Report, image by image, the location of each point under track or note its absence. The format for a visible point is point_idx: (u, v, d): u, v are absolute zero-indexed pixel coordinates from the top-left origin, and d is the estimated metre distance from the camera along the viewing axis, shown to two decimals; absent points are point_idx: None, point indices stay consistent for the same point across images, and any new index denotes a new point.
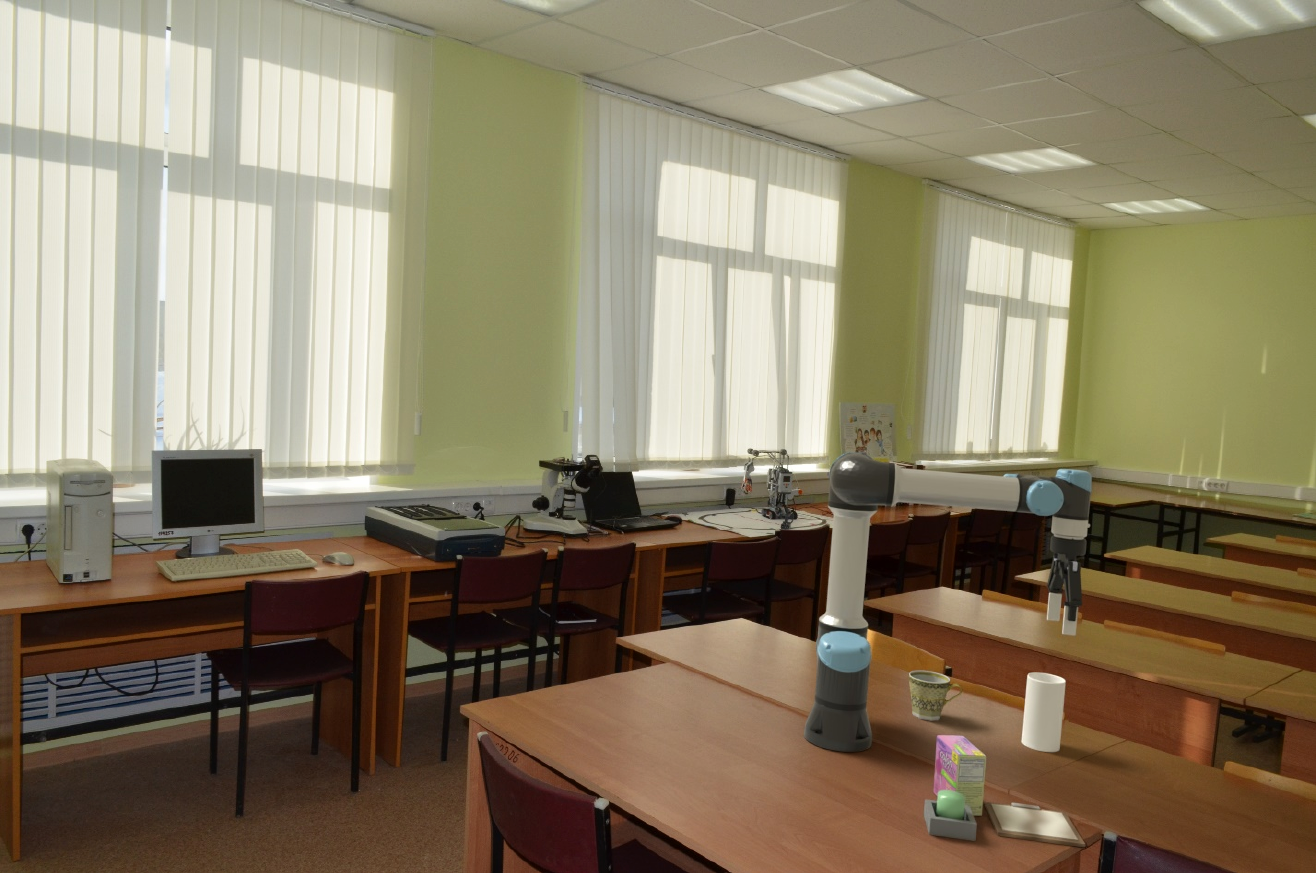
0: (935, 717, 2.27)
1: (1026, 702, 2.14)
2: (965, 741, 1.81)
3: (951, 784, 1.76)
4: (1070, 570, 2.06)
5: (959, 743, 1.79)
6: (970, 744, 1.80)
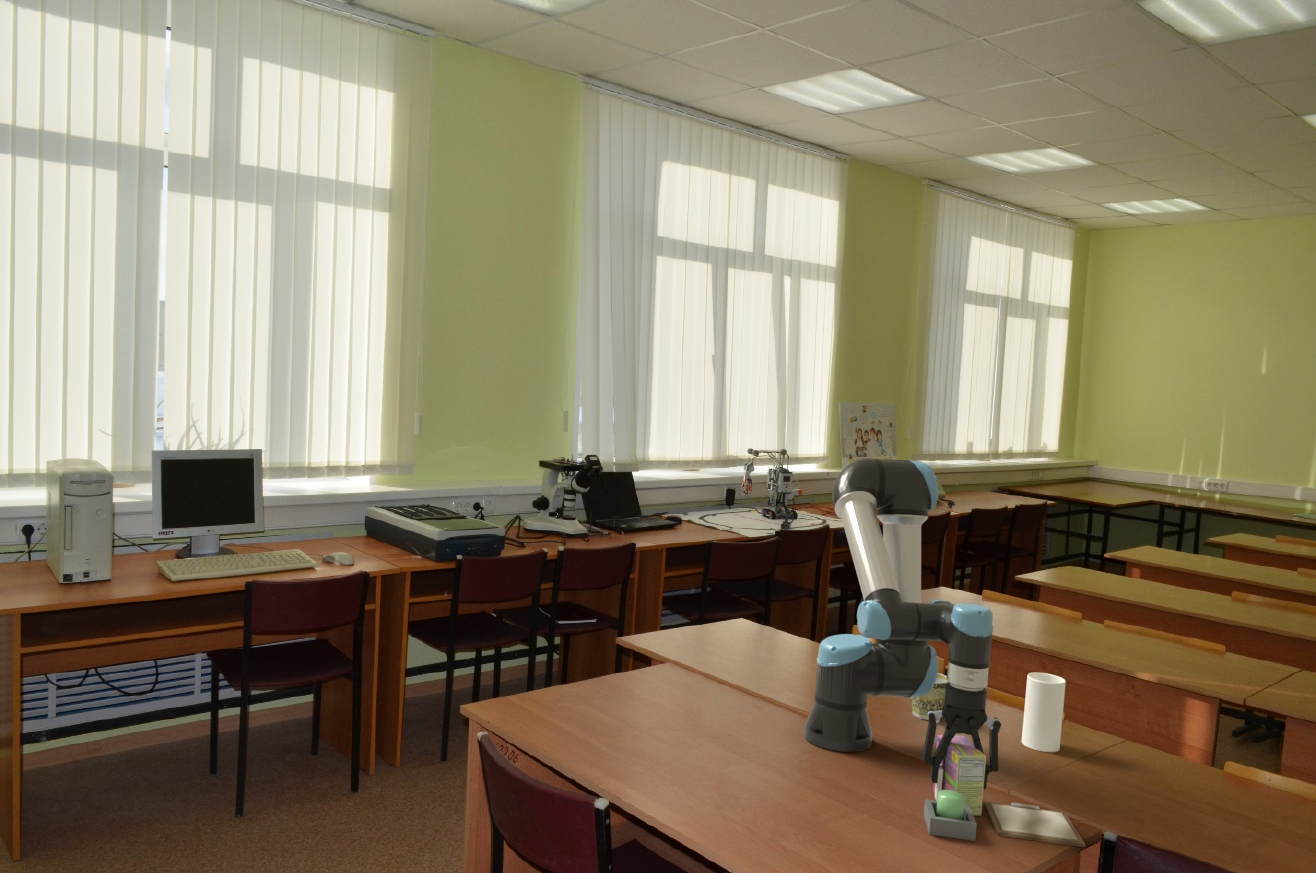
0: None
1: (1026, 702, 2.14)
2: (966, 741, 1.81)
3: (951, 784, 1.76)
4: None
5: (959, 743, 1.79)
6: (970, 744, 1.80)
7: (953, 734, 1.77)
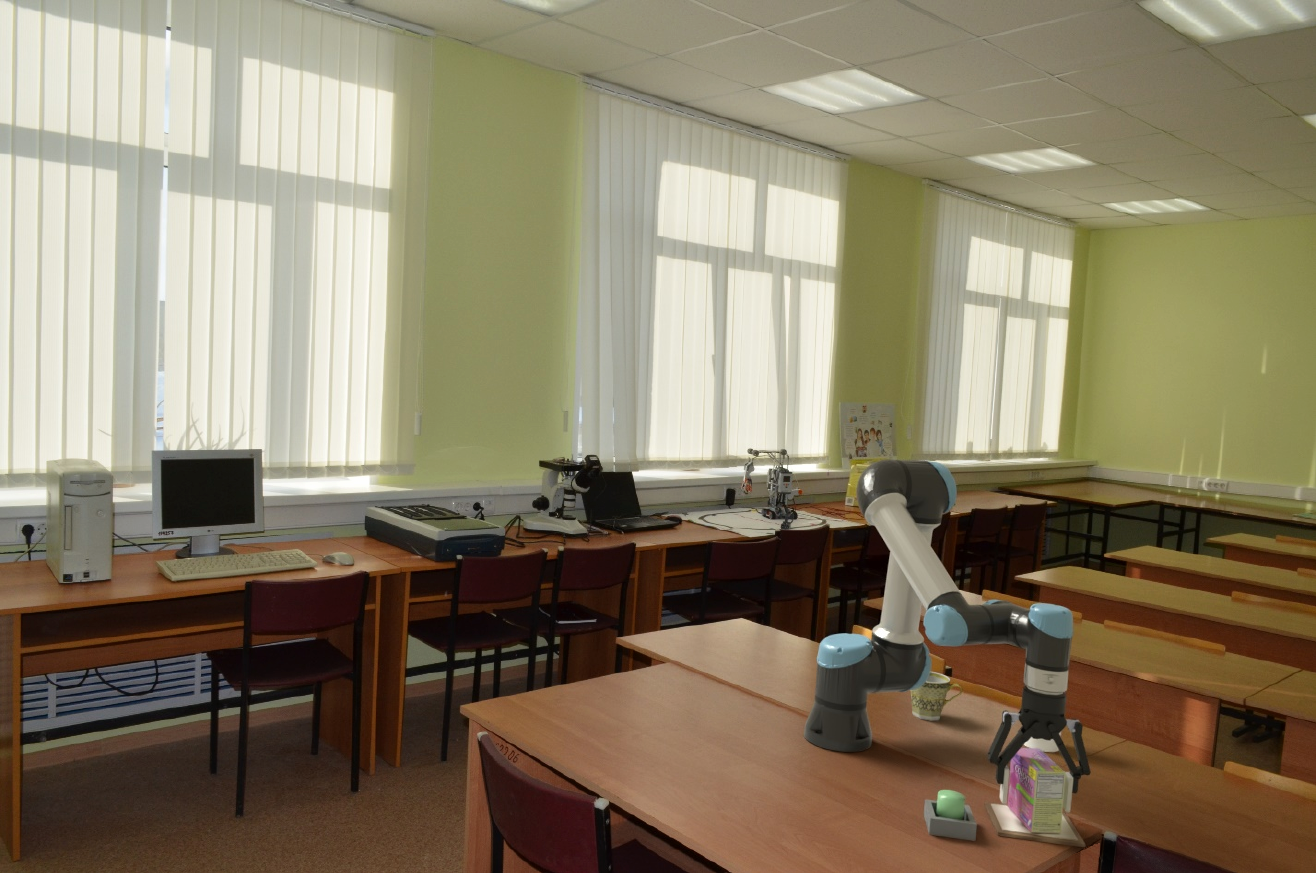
0: (935, 717, 2.27)
1: None
2: (1042, 755, 1.74)
3: (1028, 800, 1.69)
4: (1002, 721, 1.73)
5: (1036, 757, 1.72)
6: (1047, 758, 1.72)
7: (1028, 738, 1.70)
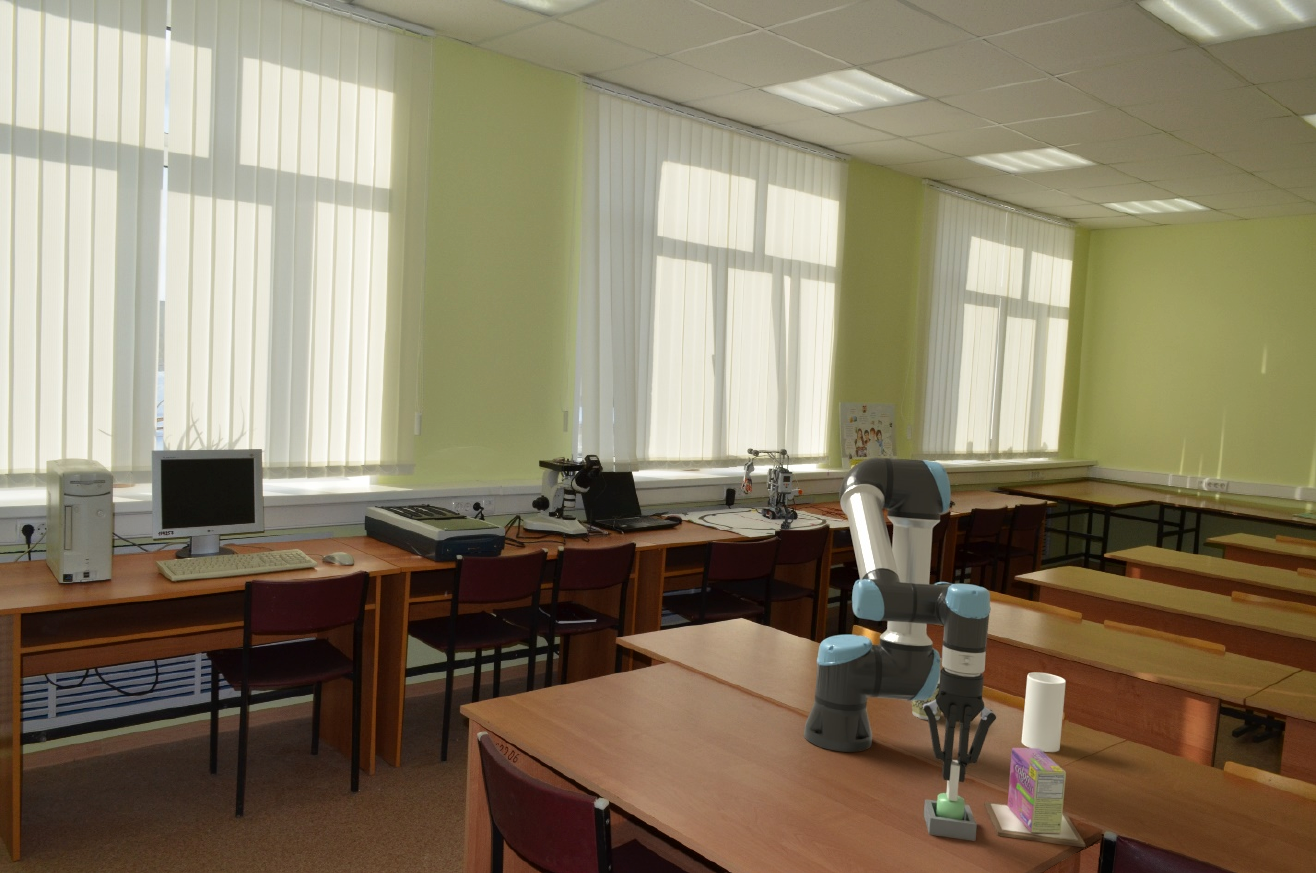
0: (935, 717, 2.27)
1: (1026, 702, 2.14)
2: (1042, 755, 1.74)
3: (1028, 800, 1.69)
4: None
5: (1036, 757, 1.72)
6: (1048, 758, 1.72)
7: (954, 724, 1.66)
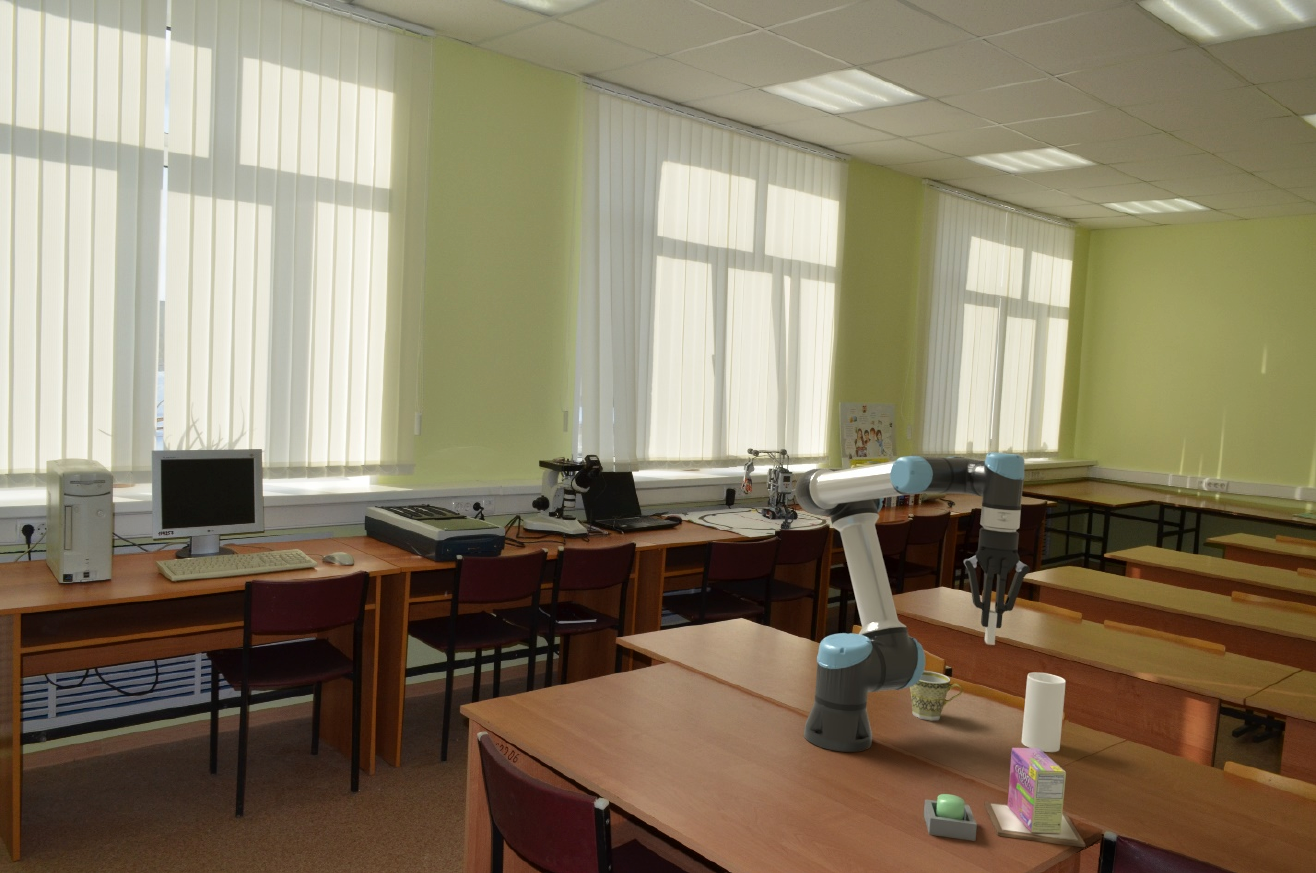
0: (935, 717, 2.27)
1: (1026, 702, 2.14)
2: (1042, 755, 1.74)
3: (1028, 800, 1.69)
4: (967, 569, 1.90)
5: (1036, 757, 1.72)
6: (1048, 758, 1.72)
7: (992, 575, 1.87)
